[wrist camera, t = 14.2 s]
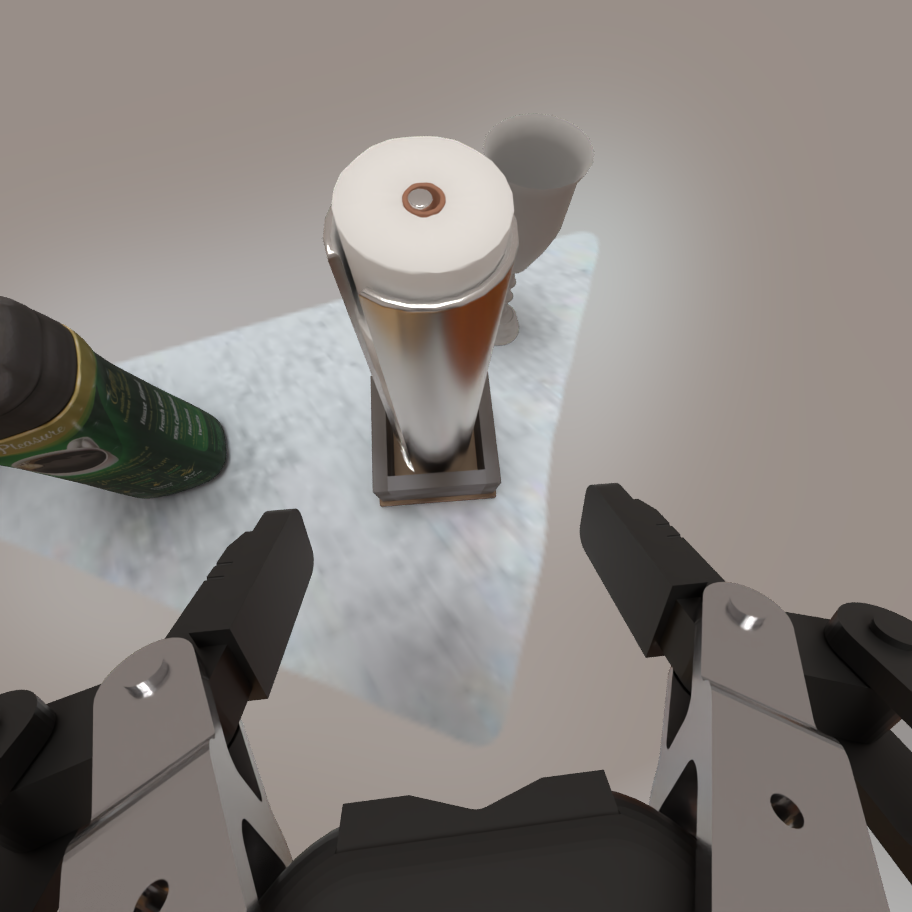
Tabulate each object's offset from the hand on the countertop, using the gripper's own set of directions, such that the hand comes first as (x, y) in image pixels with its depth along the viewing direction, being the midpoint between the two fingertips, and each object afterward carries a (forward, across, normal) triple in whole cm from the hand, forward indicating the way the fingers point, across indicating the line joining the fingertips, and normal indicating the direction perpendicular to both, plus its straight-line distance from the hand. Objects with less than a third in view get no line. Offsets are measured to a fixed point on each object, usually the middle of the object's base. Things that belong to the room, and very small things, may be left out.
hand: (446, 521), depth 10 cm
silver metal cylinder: (+23, 0, +10) cm, 25 cm away
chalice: (+34, -8, 0) cm, 35 cm away
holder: (+24, 0, +10) cm, 26 cm away
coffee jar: (+25, +25, +9) cm, 37 cm away
